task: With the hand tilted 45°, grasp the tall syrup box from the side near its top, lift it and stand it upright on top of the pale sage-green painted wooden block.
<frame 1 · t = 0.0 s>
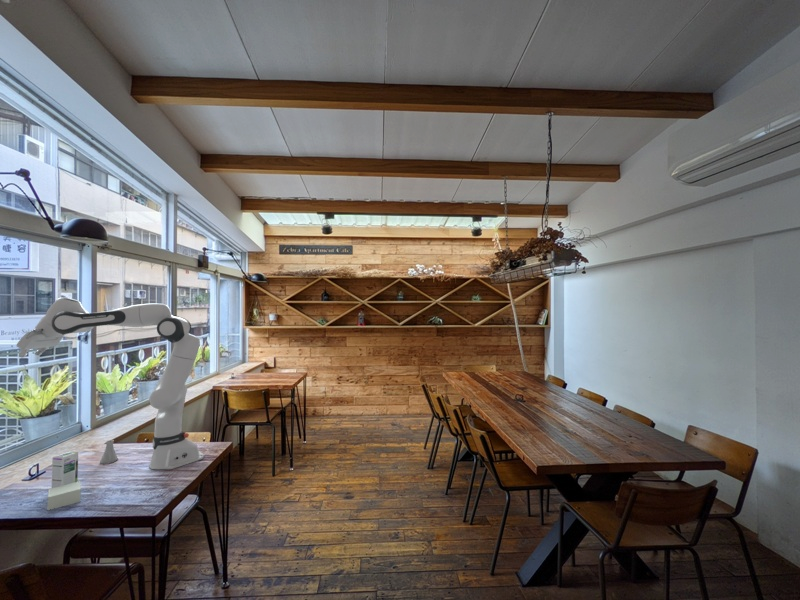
hand: (29, 355, 155), 54 cm above the table, tool tilted 30°, fingers open, 8 cm apart
flask: (109, 461, 170), on the table
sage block: (64, 502, 133), on the table
syrup box: (64, 490, 142), on the table
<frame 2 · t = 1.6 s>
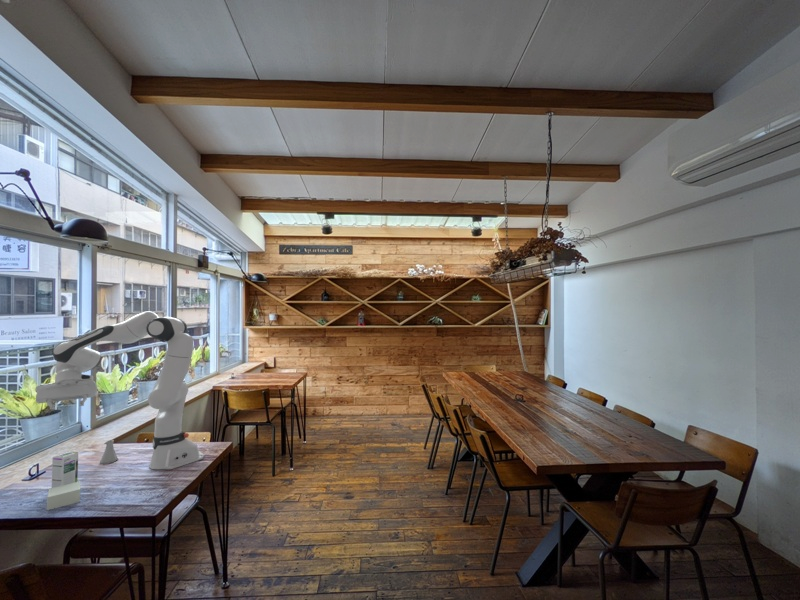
hand: (67, 406, 153), 31 cm above the table, tool tilted 45°, fingers open, 8 cm apart
nothing on the table moved.
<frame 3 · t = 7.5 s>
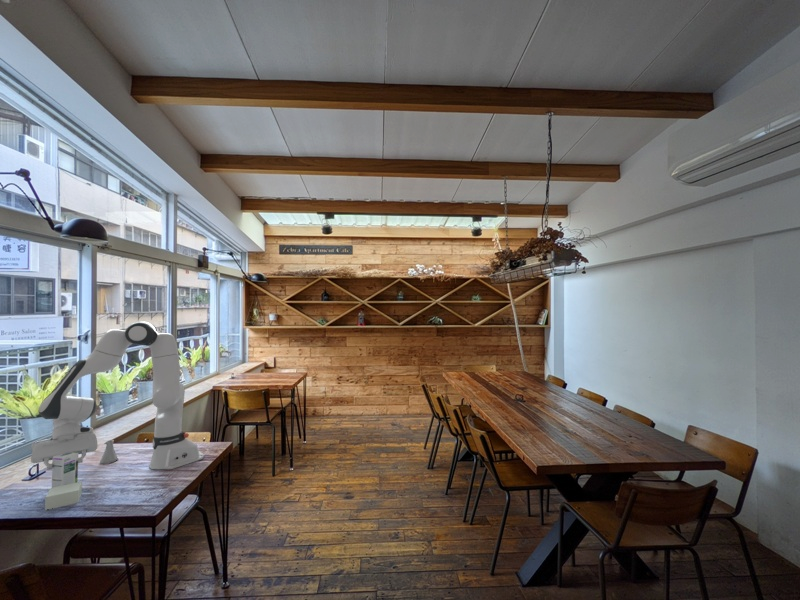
hand: (65, 465, 142), 10 cm above the table, tool tilted 45°, fingers closed on syrup box, 8 cm apart
syrup box: (64, 490, 142), on the table, touching gripper
everything else where it was.
when the fingers open (16 cm above the table, at t = 16.5 s): syrup box drops 1 cm, resting on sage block.
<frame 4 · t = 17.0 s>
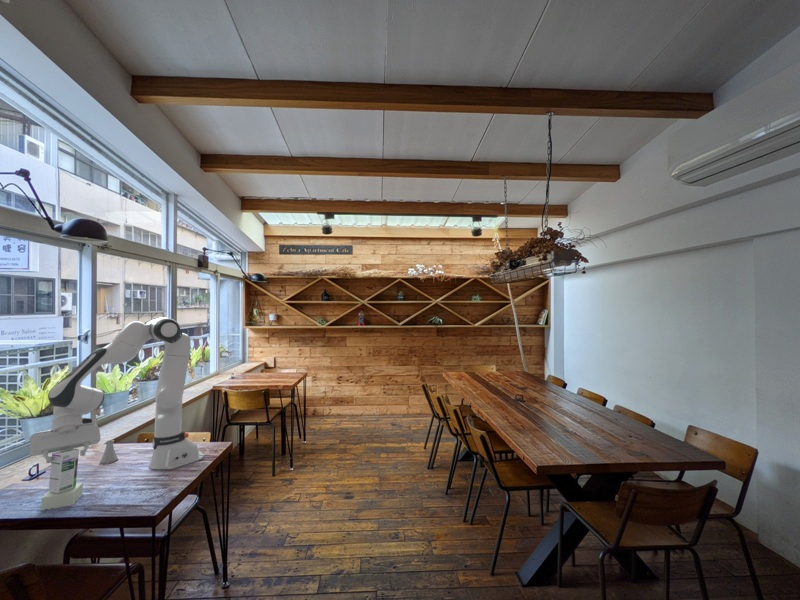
hand: (66, 458, 133), 16 cm above the table, tool tilted 45°, fingers open, 8 cm apart
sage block: (62, 503, 132), on the table, touching syrup box
syrup box: (61, 490, 132), point 5 cm above the table, touching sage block
everything else where it was.
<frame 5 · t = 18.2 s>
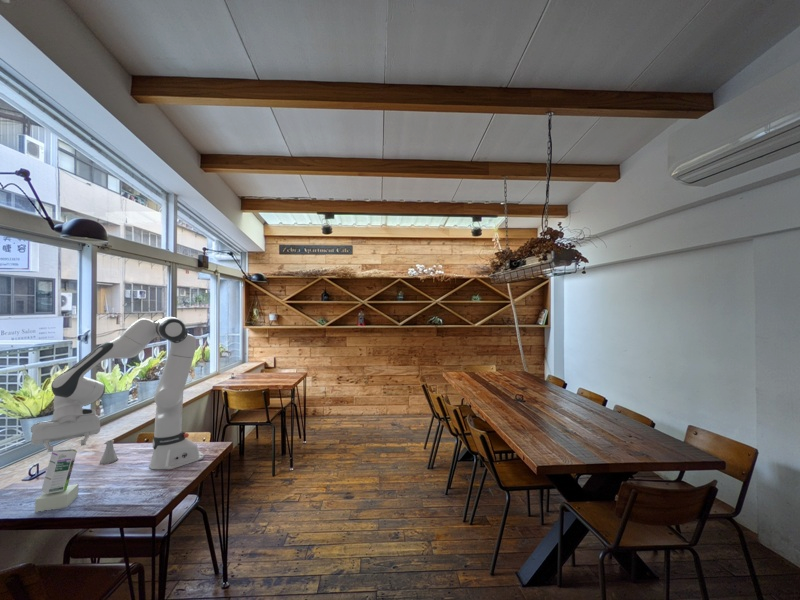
hand: (67, 447, 136), 20 cm above the table, tool tilted 45°, fingers open, 8 cm apart
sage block: (57, 504, 131), on the table, touching syrup box
syrup box: (53, 491, 130), point 5 cm above the table, touching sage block
everything else where it was.
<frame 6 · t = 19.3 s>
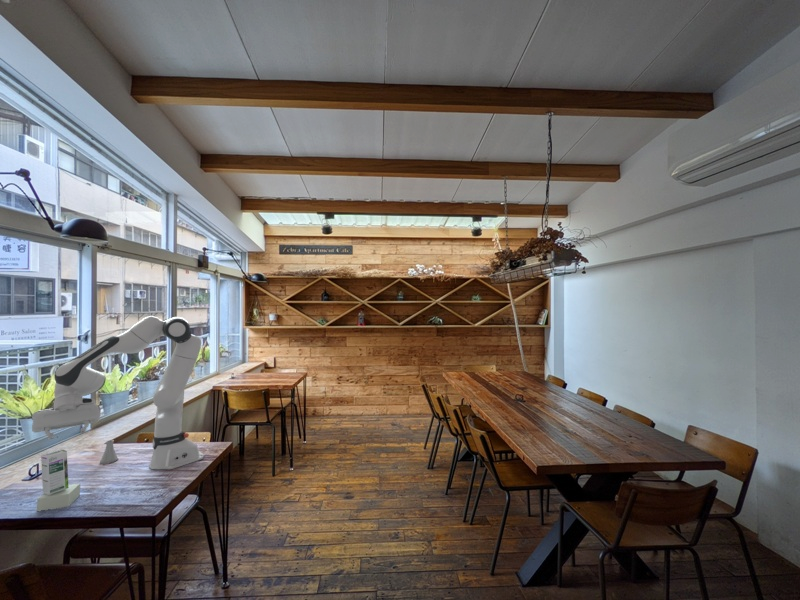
hand: (67, 435, 139), 24 cm above the table, tool tilted 45°, fingers open, 8 cm apart
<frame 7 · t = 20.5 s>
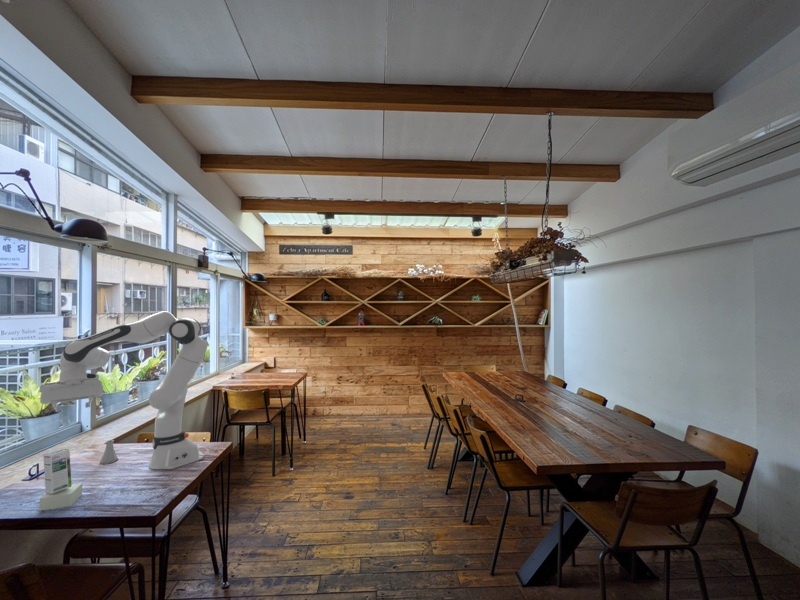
hand: (73, 409, 149), 32 cm above the table, tool tilted 35°, fingers open, 8 cm apart
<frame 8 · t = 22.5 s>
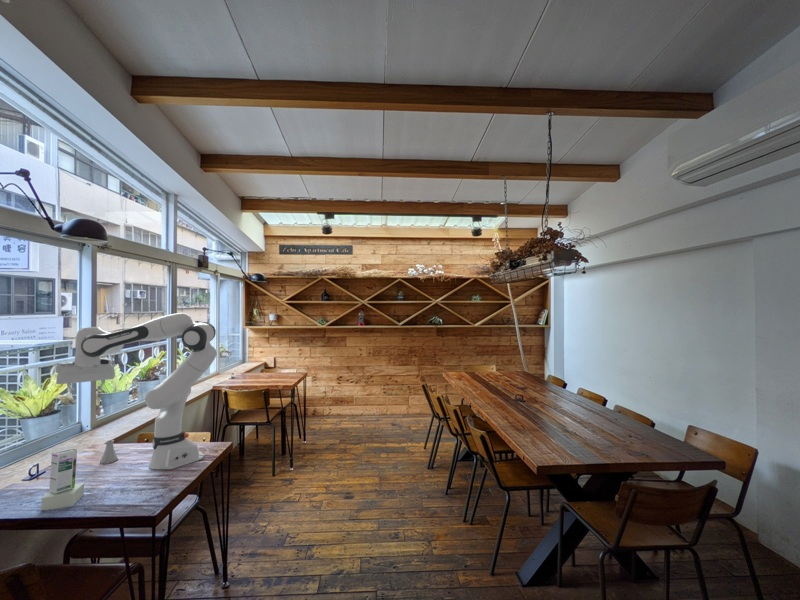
hand: (86, 391, 159), 37 cm above the table, tool pointing down, fingers open, 8 cm apart
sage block: (63, 503, 132), on the table
syrup box: (61, 490, 132), point 5 cm above the table
everything else where it was.
at the end: syrup box 0.7 cm off-centre on the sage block, point 5.0 cm above the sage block's base; syrup box tilted 3°; the gripper is holding nothing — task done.
